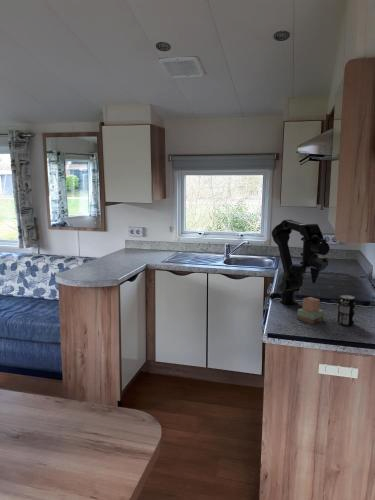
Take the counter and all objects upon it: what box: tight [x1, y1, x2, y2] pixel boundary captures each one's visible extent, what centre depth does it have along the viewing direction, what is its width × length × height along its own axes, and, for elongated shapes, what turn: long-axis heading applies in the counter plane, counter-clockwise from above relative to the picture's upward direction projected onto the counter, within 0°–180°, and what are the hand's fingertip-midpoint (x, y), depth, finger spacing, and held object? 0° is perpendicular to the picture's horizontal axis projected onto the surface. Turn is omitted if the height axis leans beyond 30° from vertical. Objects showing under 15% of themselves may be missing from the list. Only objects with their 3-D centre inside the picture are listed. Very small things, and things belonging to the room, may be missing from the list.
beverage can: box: [336, 294, 357, 327], centre depth 165 cm, size 7×7×12 cm
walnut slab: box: [296, 314, 324, 325], centre depth 171 cm, size 8×8×2 cm
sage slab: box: [296, 307, 325, 320], centre depth 171 cm, size 8×8×2 cm
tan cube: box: [302, 296, 321, 313], centre depth 170 cm, size 5×5×5 cm
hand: (307, 284), depth 180 cm, fingers open, 9 cm apart
